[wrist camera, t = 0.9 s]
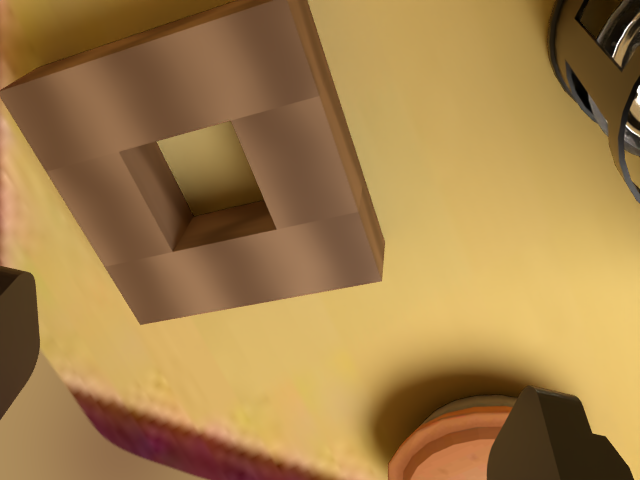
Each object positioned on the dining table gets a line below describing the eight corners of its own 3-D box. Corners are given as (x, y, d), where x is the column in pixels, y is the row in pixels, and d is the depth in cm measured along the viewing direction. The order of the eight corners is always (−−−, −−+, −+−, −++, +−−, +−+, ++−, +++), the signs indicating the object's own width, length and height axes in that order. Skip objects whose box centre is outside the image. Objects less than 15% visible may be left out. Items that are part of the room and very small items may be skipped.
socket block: (300, -22, 30) (285, -4, 27) (384, 242, 38) (381, 281, 34) (37, 67, 34) (-3, 91, 31) (162, 286, 42) (140, 324, 39)
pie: (618, 379, 41) (640, 439, 37) (576, 512, 50) (590, 573, 46) (391, 365, 44) (389, 420, 39) (388, 495, 52) (385, 552, 48)
